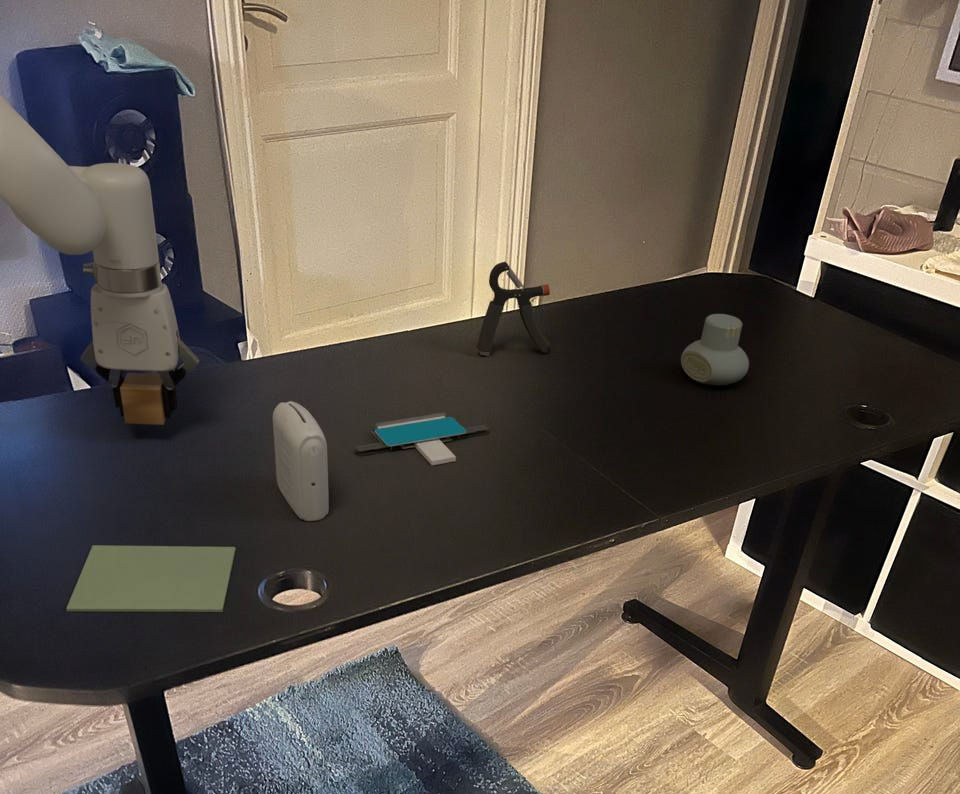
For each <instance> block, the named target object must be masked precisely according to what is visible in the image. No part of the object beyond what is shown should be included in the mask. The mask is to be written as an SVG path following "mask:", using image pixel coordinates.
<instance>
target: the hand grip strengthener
mask: <svg viewBox="0 0 960 794" xmlns="http://www.w3.org/2000/svg"><path fill="white" fill-rule="evenodd" d="M504 272H506V276H507V277H508V278H509V279H510V280H511V282H512V283H513V285H514V286H515V287H516V288H512V289H507V288H502V287H501V286H500V285H499V277H500V275H501V274H502V273H504ZM488 285H489V288H490V289H491V290H492V292H493V299H492V300H489V303H488V306H487V309H486V311H485V314H484V318H483V321H482V325H481V329H480V331H479V335H478V340H477V345H476V347H477V349H478V350H479V351H481V352H482V351H483V352H490V353H491V351H492V347H493V344H494V339H495V336H496V332H497V329H498V325H499V322H500V319H501V316H502V314H503V312H504V311H503V310H504V307H505V304H506V302H508V301H509V300H510V299H511V300H512V299H516V302H517V305H518V310H519V315H520V318H521V322H522V324H523V326H524V328H525V330H526V331H527V334H528V335H529V337H530V338H531V340H532V341H533V343H534V344H535V345H536V346H537V348H538V349H539V350H540V351H542V350H543V351H545V350H548V351H550V350H551V349H552V346H551V343H550V341H549V340H548V339H547V338H546V337H545V336H544V334H542V331H541V330H540V328H539V327H538V325H537V323H536V321H535V318H534V315H533V303H532V302H531V299H534V298H537V297H546V296H550V293H551V290H550V285H549V284H548V283H546V284H541V285H538V286H531V287H525V286H524V284H523V283H522V281H521V279H520V278H519V276H517V275H516V273H515V272H514V270H513V269H512V268H511V267H510V265H509V264H508V263H507V261H502V262H499V263H496V264H495V265H494V266H493V268H492V269H491V271H490V273H489V276H488ZM543 351H542V352H543Z"/></svg>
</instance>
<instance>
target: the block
mask: <svg viewBox="0 0 960 794" xmlns="http://www.w3.org/2000/svg"><path fill="white" fill-rule="evenodd" d="M163 384H164V383H163V381H162V379H161V377H160V374H159V373H144V372H142V373H141V372H127V373H126V375H125V376H124V381H123V383H122V385H121V387H120V392H121V398H122V405H123V411H124V416H123V417H124V418H123V419H124V423H125V424H130V425H131V424H133V425H152V426H153V425H155V426H156V425H157V426H158V425H159V426H164V425H165V423H166V420H167V418H166V417H165V414H164V406H163V399H162V389H163Z"/></svg>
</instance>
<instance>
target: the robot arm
mask: <svg viewBox="0 0 960 794" xmlns="http://www.w3.org/2000/svg"><path fill="white" fill-rule="evenodd" d="M0 199H1V200H2V201H3V202H4V203H5V204H6V205H7V206H8V207H9V208H10V210H11V211H12V213H13V215H14V216H15V217H16V218H17V220H18V221H19V222H20V223H21V224H22V225H24V226H25V227H26V228H27V229H28V230H29V231H31V232H32V233H33V234H34V235H36V236H37V237H38V238H40V239H41V240H42V241H43V243H45V244H46V245H47V246H48V247H50V248H52V249H53V250H55V251H57V252H59V253H62V254H64V255H70V256H81V255H85V254H88V253H90V252H92V255H93V261H92V262H89V263H83V265H82V271H83V275H84V276H90V277H93V279H94V280H95V283H94V285H92V286H91V289H90V320H91V321H90V322H91V331H92V332H91V333H92V334H91V335H92V341H90V343H89V345H88V346H87V347H86V349H85V350H84V351H83V353H82V354H81V356H80V361H81V362H82V363H83V364H85V365H86V366H87V367H89V368H90V369H92V370H94V371H95V372H96V374H97V375H99V376H100V377H101V378H102V379H103V380H105V381H106V382H107V384H108V386H109V387H110V388H112V394H113V399H114V400H113V401H114V405H115V408H119V414H120V417H124V411H123V405H122V398H121V392H120V387H121V385H122V383H123V381H124V379H125V376H123V374H124V371H131V372H133V371H134V372H157V373H158V374H160V377H161V379H162V381H163V383H164V384H163V389H162V399H163V406H164V414H165V417H166V419H171V418H172V416H173V413H174V411H176V410H177V409H178V396H177V387H176V386H177V385H178V384H179V383H181V382H182V381H183V380H184V378H185V377H186V376H187V375H189V374H190V373H192V372H193V371H194V370H195V369H197V368H198V367H199V363H200V359H199V358H198V357H197V356H196V355H195V354H194V353H193V352H192V350H191V349H190V348H189V347H188V346H187V345H186V344H185V343H184V341H183V340H182V339H181V338H180V337H181V336H180V333H179V326H178V321H177V316H176V313H175V308H174V304H173V299H172V297H171V294H170V291H169V287H168V286H167V284H165V283H162V274H161V267H160V266H161V265H160V258H159V250H158V249H159V248H158V240H157V231H156V224H155V223H156V222H155V214H154V208H153V197H152V190H151V184H150V179H149V177H148V175H147V173H146V172H145V171H144V170H143V169H141V168H140V167H138V166H136V165H132V164H128V163H122V162H103V163H96V164H92V165H89V166H75V165H69V164H68V163H66V162H65V160H64V159H63V158H61V156H60V155H59V154H58V153H57V152H56V151H55V150H54V149H53V148H52V147H51V146H50V145H49V144H48V142H47V141H45V139H44V138H43V137H42V136H41V135H40V134H39V133H38V132H37V131H36V130H35V129H34V128H33V127H32V126H31V125H30V124H29V123H28V122H27V121H26V120H25V119H24V117H22V116H21V114H19V113H18V112H17V111H16V109H15V108H14V107H13V106H12V105H11V104H10V103H9V102H8V101H7V100H6V98H5V97H4V95H2V94H1V93H0ZM179 358H180V359H181V360H182V361H183V362H182V363H181V364H180V365H178V362H179Z"/></svg>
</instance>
